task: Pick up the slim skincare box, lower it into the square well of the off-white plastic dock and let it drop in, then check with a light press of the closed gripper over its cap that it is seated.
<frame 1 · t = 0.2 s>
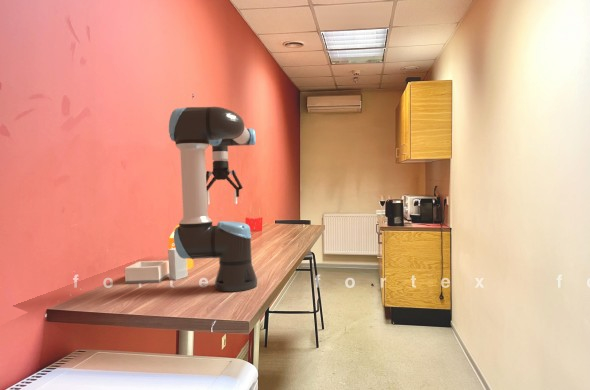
hand: (222, 204, 188), 28 cm above the table, fingers open, 13 cm apart
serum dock: (148, 278, 156), on the table
orange juice: (181, 269, 174), on the table
skincare box: (178, 278, 156), on the table
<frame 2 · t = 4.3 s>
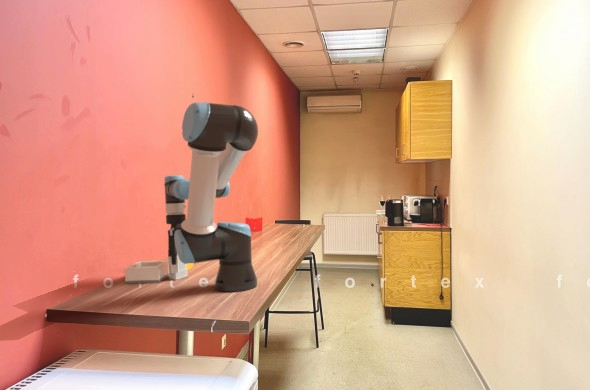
hand: (178, 270, 156), 3 cm above the table, fingers closed on skincare box, 7 cm apart
skincare box: (178, 278, 156), on the table, touching gripper
everything else where it was.
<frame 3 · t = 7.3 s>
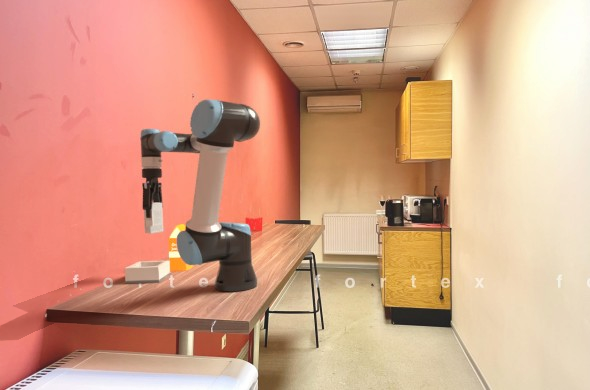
hand: (153, 224, 156), 22 cm above the table, fingers closed on skincare box, 7 cm apart
skincare box: (154, 232, 156), point 18 cm above the table, touching gripper
everything else where it was.
when the fingers open (8 cm above the table, at t = 10.5 s): skincare box drops 3 cm, resting on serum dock.
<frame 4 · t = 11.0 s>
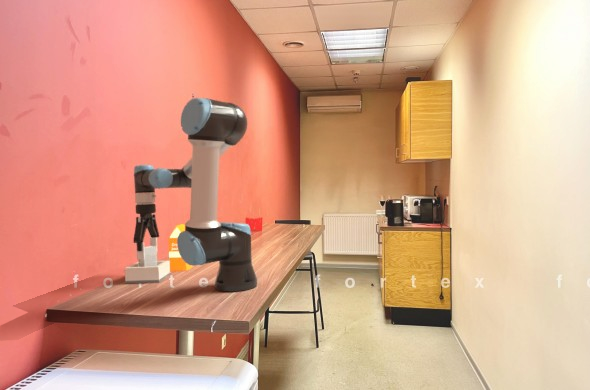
hand: (147, 256, 156), 9 cm above the table, fingers open, 13 cm apart
skincare box: (148, 277, 155), point 1 cm above the table, touching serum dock
everything else where it was.
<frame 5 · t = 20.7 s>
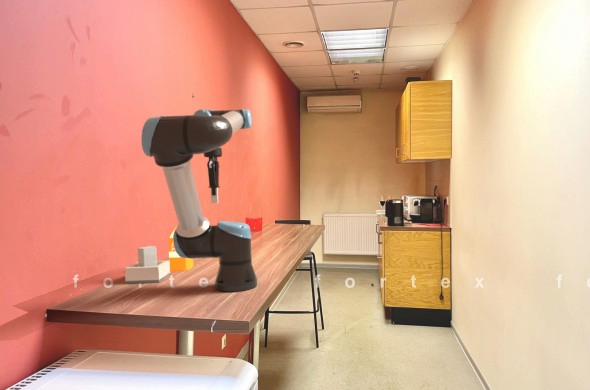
hand: (214, 203, 164), 29 cm above the table, fingers closed
nothing on the table moved.
at the end: skincare box 0.4 cm off-centre on the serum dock, point 0.8 cm above the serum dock's base; skincare box tilted 0°; the gripper is holding nothing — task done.
